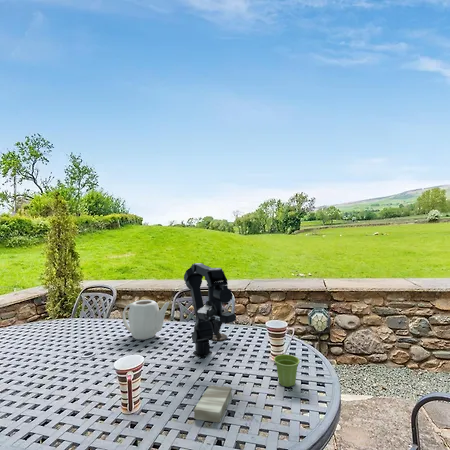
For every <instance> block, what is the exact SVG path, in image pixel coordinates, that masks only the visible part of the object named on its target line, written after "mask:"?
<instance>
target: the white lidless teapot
mask: <svg viewBox="0 0 450 450" xmlns="http://www.w3.org/2000/svg"><path fill="white" fill-rule="evenodd" d="M170 304H171V303H170V302H169V301H166V302H165V303H164V304H163V306H162V307H161V308H159V307H160V306H159V305H158V303H157V302H156V301H155V300H154V299H153V300H152V299H140V300H136V301H133V302H132V303H128V304H127V305H125V307H124V309H123V313H122V322H123V325H124V327H125V329H126V330H127V332H129V333H130V334H131V336H132V338H134V339H135V340H148V339H151V338H154V337H155V336H156V335H157V333H159V332H161V330H162V329H163V326H164V320H165V316H166V312H167V309H168V307H169V306H170ZM128 308H129V310H128V316H127V317H128V318H127V319H128V322H127V319H126V312H127V309H128Z"/></svg>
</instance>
